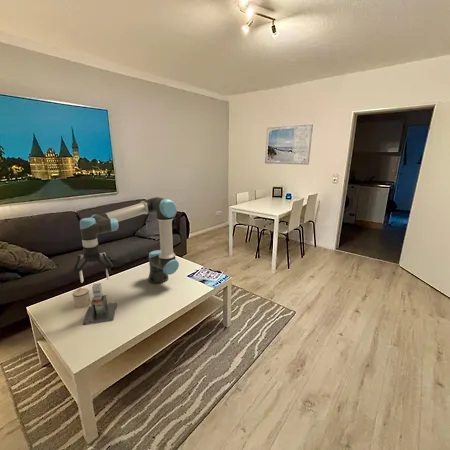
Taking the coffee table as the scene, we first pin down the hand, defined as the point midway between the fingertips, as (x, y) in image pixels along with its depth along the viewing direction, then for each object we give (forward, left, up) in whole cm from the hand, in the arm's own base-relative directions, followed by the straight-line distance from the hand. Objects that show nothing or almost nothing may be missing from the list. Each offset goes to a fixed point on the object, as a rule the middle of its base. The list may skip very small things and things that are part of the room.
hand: (95, 280), depth 144 cm
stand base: (0, 0, -23) cm, 23 cm away
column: (0, 0, -21) cm, 21 cm away
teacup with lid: (-16, -14, -23) cm, 31 cm away
